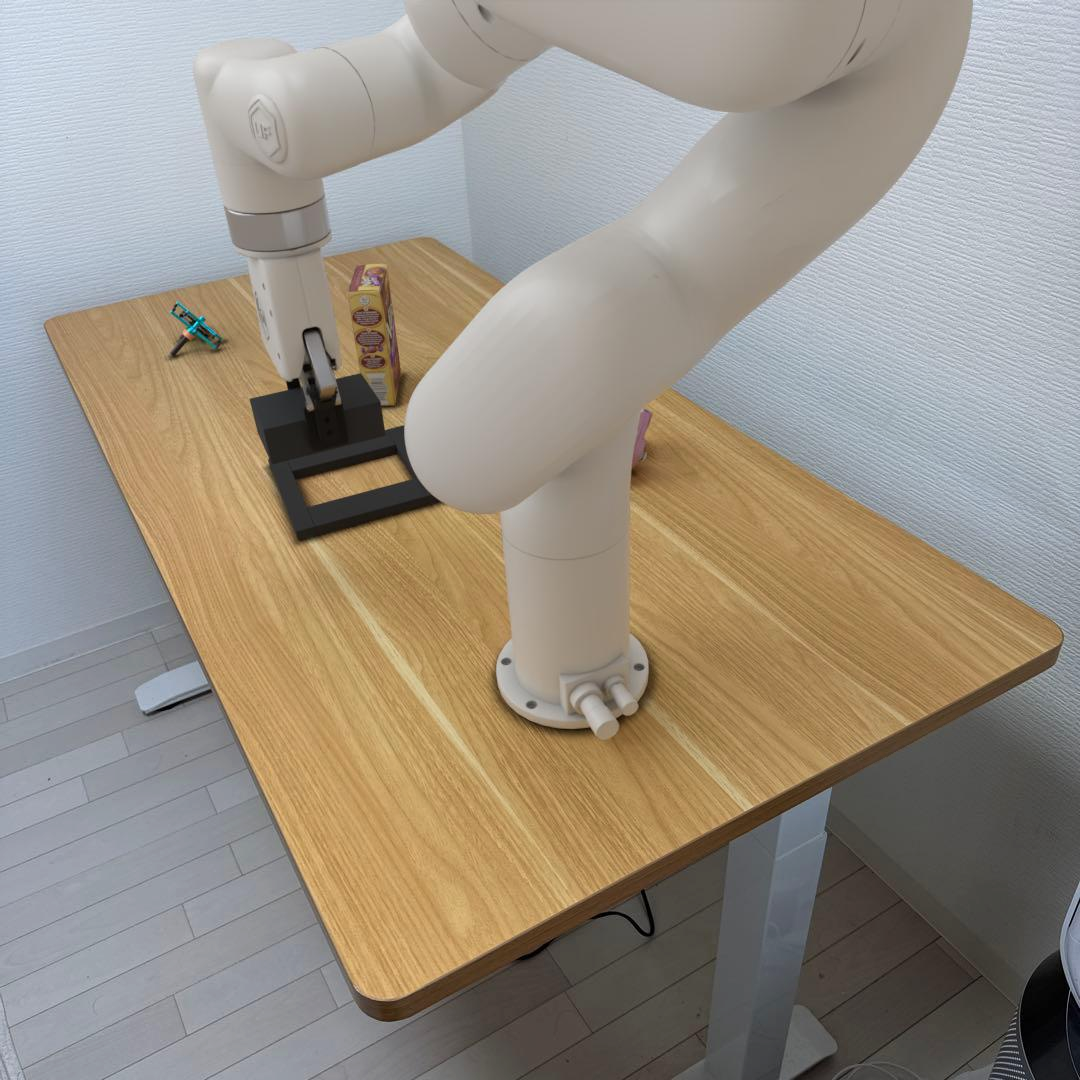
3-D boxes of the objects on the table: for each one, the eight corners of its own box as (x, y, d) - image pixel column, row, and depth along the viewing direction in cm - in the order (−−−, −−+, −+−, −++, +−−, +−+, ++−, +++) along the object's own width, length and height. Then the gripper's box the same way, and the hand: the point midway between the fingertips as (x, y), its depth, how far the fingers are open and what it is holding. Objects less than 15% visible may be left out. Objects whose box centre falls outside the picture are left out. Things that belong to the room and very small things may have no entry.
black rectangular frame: (499, 485, 104) (498, 476, 103) (298, 541, 98) (295, 531, 97) (451, 422, 116) (450, 413, 116) (269, 467, 110) (267, 458, 109)
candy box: (398, 406, 120) (380, 289, 111) (364, 408, 120) (343, 291, 111) (404, 374, 127) (387, 262, 119) (372, 376, 128) (352, 264, 119)
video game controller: (623, 498, 104) (654, 450, 99) (586, 480, 103) (614, 430, 99) (635, 451, 111) (663, 404, 107) (599, 434, 111) (626, 386, 107)
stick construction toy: (229, 338, 135) (182, 299, 131) (196, 376, 134) (148, 338, 131) (221, 331, 145) (177, 295, 142) (190, 367, 145) (146, 331, 141)
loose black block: (386, 435, 84) (380, 401, 82) (271, 464, 81) (263, 429, 79) (366, 406, 88) (361, 372, 86) (257, 432, 85) (249, 398, 83)
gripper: (211, 200, 78) (258, 396, 89) (252, 268, 66) (301, 487, 77) (301, 185, 81) (336, 378, 92) (358, 248, 68) (391, 464, 79)
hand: (320, 426), depth 84 cm, fingers closed on loose black block, 6 cm apart
